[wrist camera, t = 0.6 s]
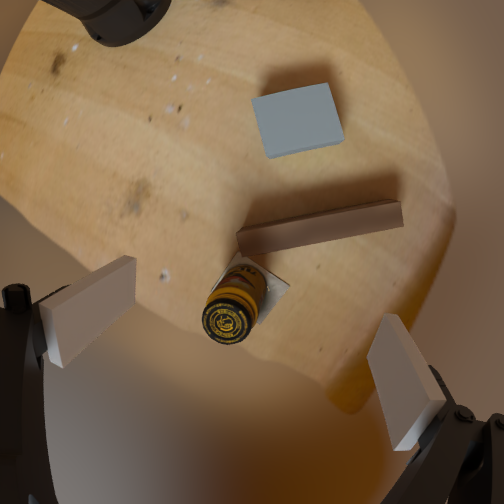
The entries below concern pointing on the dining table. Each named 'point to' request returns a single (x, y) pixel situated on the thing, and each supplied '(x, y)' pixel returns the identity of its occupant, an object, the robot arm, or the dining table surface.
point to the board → (320, 227)
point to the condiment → (240, 300)
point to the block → (297, 120)
